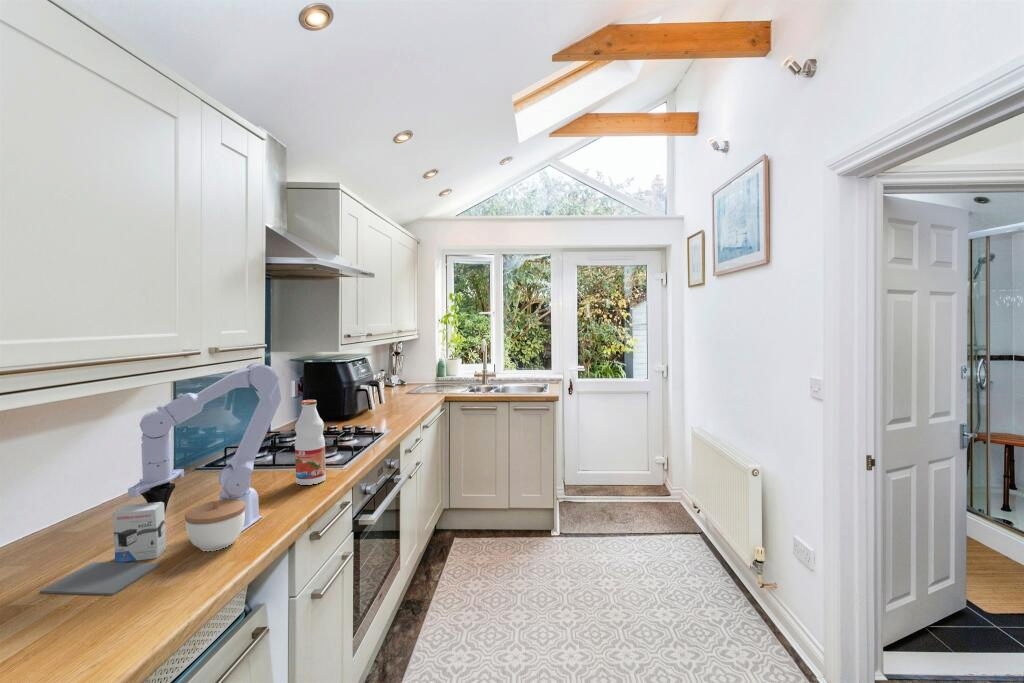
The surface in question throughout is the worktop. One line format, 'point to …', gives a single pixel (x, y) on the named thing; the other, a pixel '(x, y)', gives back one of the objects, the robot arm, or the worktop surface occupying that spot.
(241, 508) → the lidded bowl
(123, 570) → the mat
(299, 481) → the fruit juice
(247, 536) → the worktop surface
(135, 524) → the ink box
